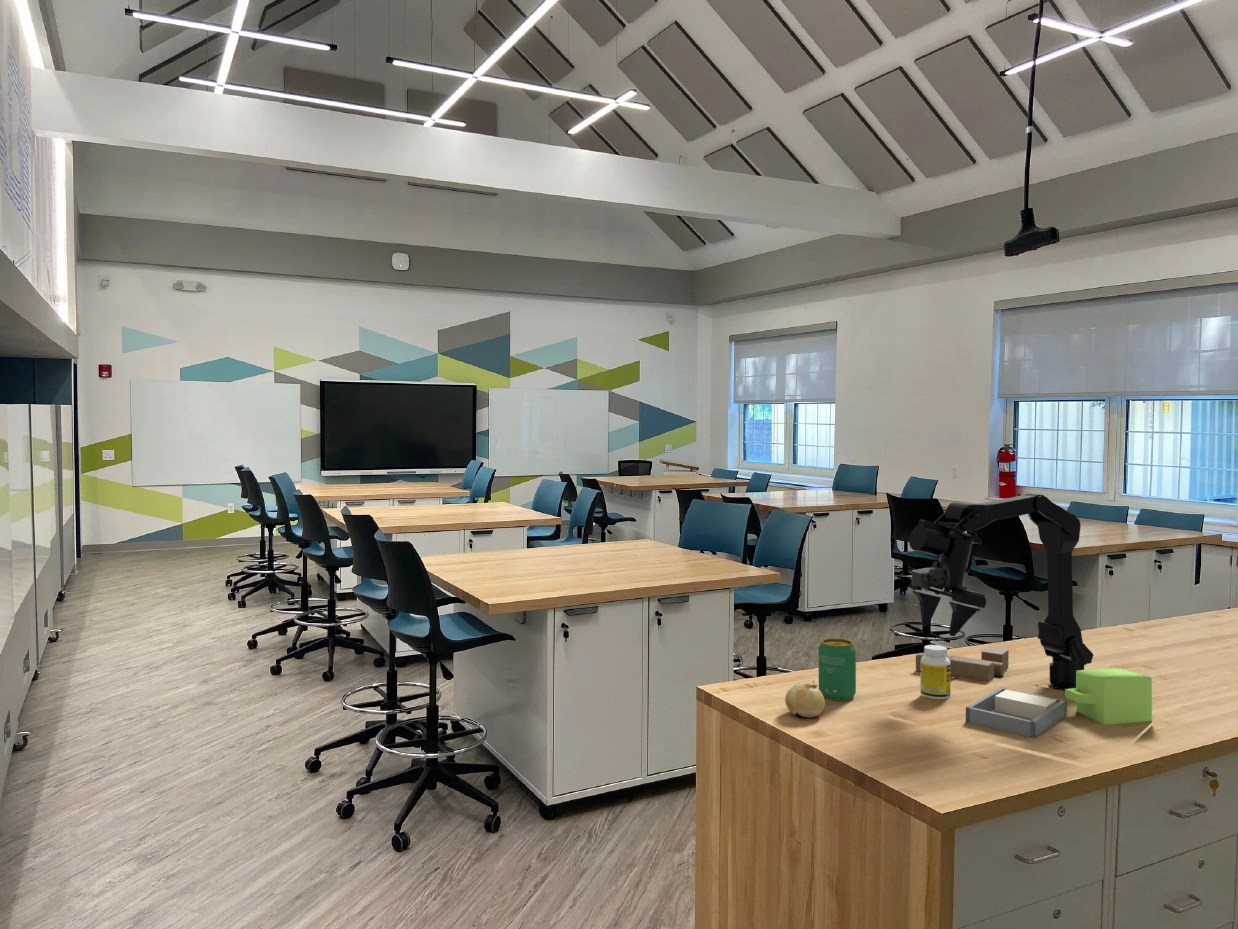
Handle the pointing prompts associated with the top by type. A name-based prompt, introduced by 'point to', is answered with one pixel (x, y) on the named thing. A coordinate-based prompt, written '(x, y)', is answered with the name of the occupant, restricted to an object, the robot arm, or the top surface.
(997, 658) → the wooden block set
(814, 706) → the onion
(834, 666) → the beverage can
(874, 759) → the top surface
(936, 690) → the pill bottle
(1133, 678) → the green tabbed block
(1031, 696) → the cream rectangular block
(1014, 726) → the tote
